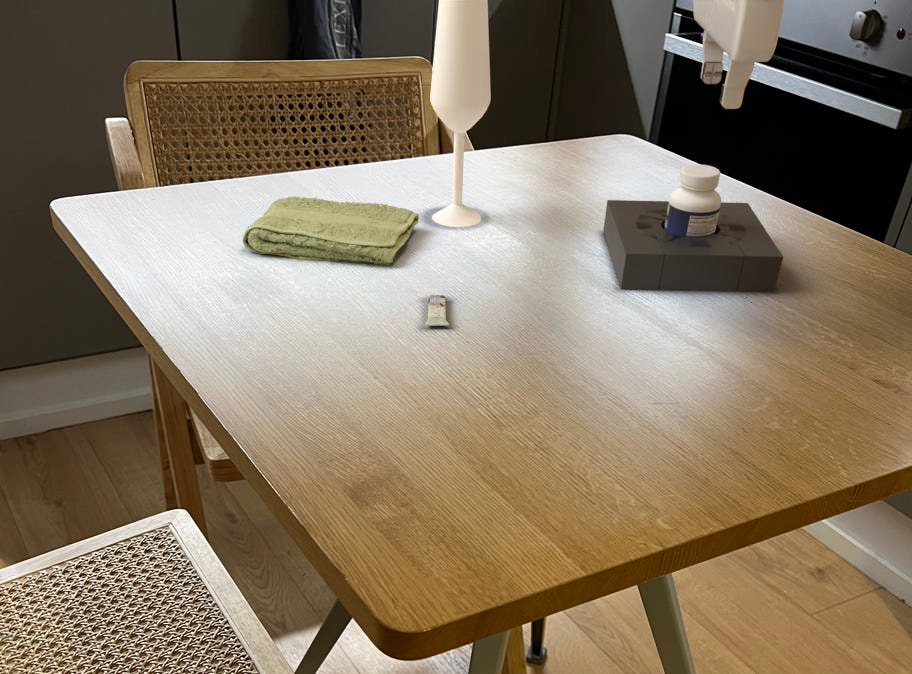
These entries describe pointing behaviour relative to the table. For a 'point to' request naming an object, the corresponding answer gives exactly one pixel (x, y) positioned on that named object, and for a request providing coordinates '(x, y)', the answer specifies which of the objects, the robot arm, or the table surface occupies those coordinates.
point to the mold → (690, 251)
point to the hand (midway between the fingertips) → (719, 94)
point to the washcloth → (331, 230)
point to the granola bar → (437, 310)
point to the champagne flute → (460, 87)
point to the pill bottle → (694, 203)
